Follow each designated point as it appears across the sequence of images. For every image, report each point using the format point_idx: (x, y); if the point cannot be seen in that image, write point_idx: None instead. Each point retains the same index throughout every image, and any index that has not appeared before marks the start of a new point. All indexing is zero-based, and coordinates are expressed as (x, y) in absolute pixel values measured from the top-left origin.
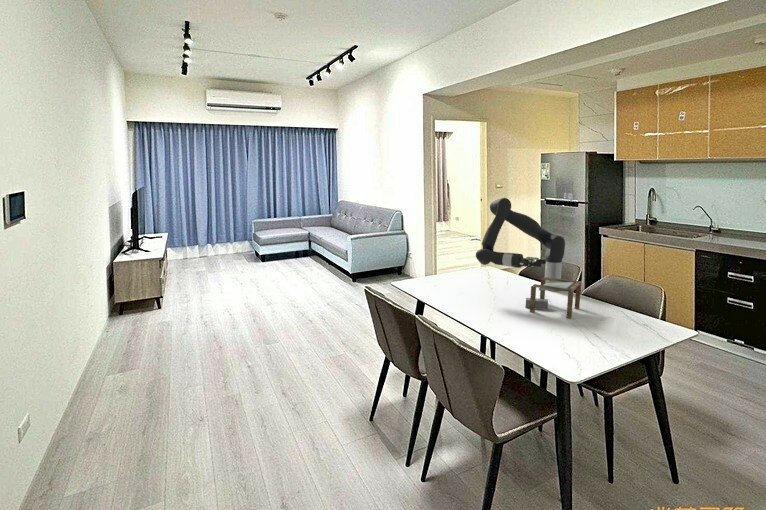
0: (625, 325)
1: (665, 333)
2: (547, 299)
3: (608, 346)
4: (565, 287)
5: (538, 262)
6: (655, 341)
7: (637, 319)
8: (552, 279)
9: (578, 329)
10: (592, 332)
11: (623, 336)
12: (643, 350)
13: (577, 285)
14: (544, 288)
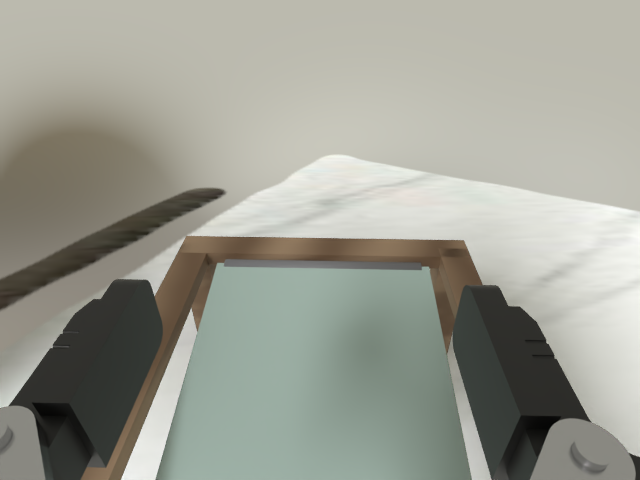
0: (368, 230)
1: (375, 177)
2: None
3: (617, 245)
4: (410, 280)
5: (499, 320)
6: (458, 186)
7: (280, 214)
8: (139, 414)
9: (549, 326)
10: (533, 286)
11: (485, 227)
12: (553, 197)
13: (313, 238)
14: (464, 443)
